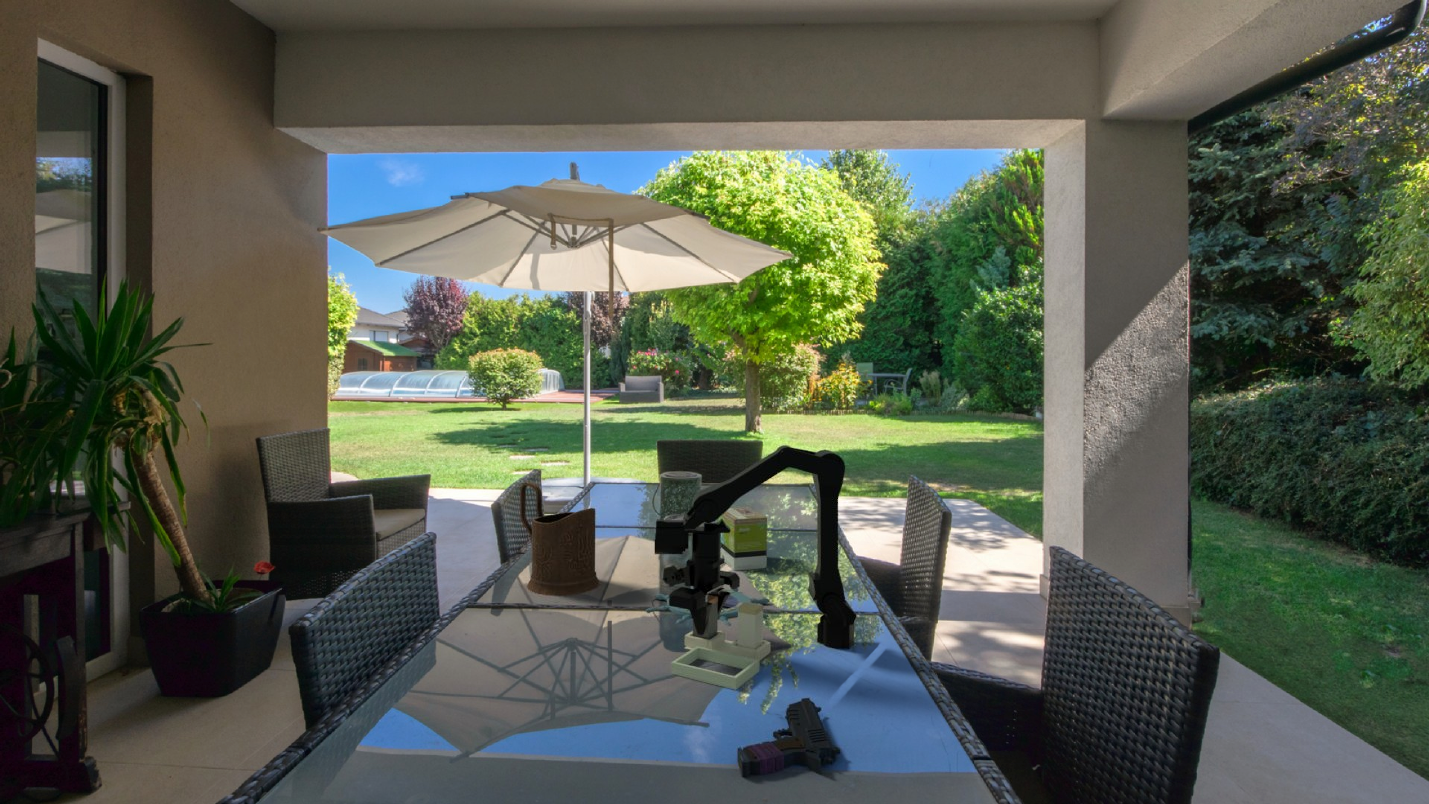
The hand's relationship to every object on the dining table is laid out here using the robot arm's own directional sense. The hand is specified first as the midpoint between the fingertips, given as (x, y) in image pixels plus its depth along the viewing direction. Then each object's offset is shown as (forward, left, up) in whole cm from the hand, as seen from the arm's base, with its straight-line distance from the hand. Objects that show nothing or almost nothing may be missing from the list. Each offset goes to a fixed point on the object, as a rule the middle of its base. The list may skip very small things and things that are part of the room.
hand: (705, 631), depth 151 cm
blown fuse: (0, 0, -2) cm, 2 cm away
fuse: (-10, 0, -2) cm, 10 cm away
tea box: (+24, -62, -4) cm, 66 cm away
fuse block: (-5, 0, -4) cm, 6 cm away
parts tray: (-8, +11, -4) cm, 14 cm away
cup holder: (+55, -19, -4) cm, 59 cm away
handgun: (-29, +26, -4) cm, 39 cm away
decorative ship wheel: (+12, -22, -4) cm, 25 cm away
